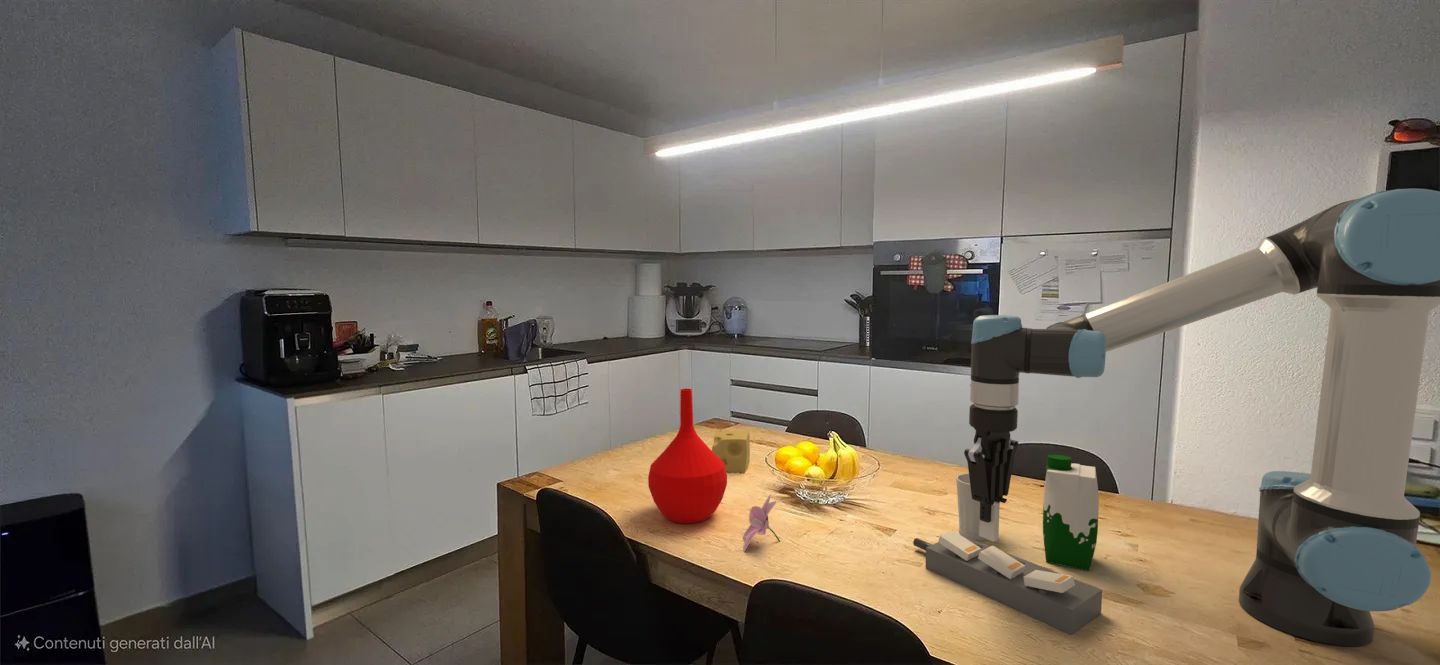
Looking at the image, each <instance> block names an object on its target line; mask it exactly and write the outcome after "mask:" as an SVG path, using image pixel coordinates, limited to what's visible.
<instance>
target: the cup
mask: <svg viewBox="0 0 1440 665" xmlns="http://www.w3.org/2000/svg"><path fill="white" fill-rule="evenodd" d="M955 480H956V493H957V494H956V495H957V508H958V509H957V511H958V525H959V528H958V530H959V532H958V534H960V535H962V536H964V537H967V538H969V539H972V540H975V541H977V542H979V541H980V542H982V541H983V542H984V541H989V540H988V539H986V538H983V537H980V536H979V526H980V502H979V501H976V500H973V499H972V495H971V487H970V478H969V472H967V473H961V474H958V475H957V476H956V478H955Z"/></svg>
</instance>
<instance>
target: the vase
mask: <svg viewBox="0 0 1440 665" xmlns="http://www.w3.org/2000/svg"><path fill="white" fill-rule="evenodd" d="M679 400H680V401H679V402H680V405H679V409H680V412H679V413H680V414H679V415H680V418H679V419H680V425H679V430H678V432H677V434H676V436H675V437H674V438H673V439H672V440H671V441H670V443H669V444H668V446H666V448H665V449H664V450H663V451H662V452H661V453H660V455H658V456H657V458H655V460H654V461H653V462H652V463H651V464H650V466H649V472H648V478H647V479H648V481H647V482H648V483H647V484H648V489H649V492H650V495H651V497H652V500H653V503H654V504H655V506H656V507H657V509H658V510H659V511H660V513H661V514H662V515H663V516H664V517H666V518H667V519H668V520H669V521H671V522H674V523H677V524H678V523H679V524H696V523H697V524H698V523H701V522H704V521H705V520H708V519H709V518H710V517H711V516H712V515H713V514H714V513H715V512H716V510H717V509H718V507H719V506H720V505H721V502H722V500H723V498H724V495H725V492H726V488H727V486H728V472H726V468H725V464H724V462H723V461H722V460H721V459H720V458H719V457H718V456H717V455H716V454H715V453H714V452H713V451H712V449H711V448H710V447H709V446H708V445H707V444H706V443H705V442H704V441H703V440H702V438H700V436H699V435H698V433H697V432H696V430H695V426H694V409H693V405H694V404H693V389H692V388H681V389H680V399H679Z"/></svg>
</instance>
